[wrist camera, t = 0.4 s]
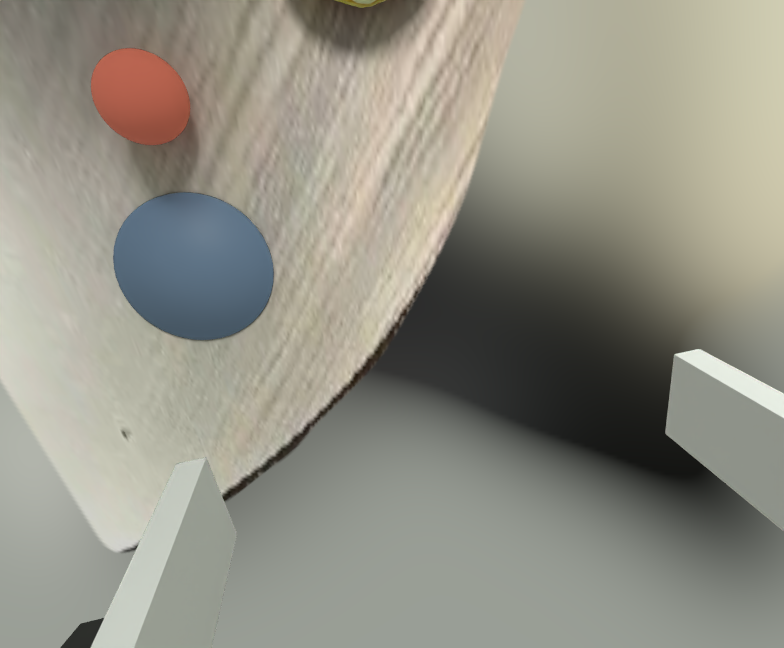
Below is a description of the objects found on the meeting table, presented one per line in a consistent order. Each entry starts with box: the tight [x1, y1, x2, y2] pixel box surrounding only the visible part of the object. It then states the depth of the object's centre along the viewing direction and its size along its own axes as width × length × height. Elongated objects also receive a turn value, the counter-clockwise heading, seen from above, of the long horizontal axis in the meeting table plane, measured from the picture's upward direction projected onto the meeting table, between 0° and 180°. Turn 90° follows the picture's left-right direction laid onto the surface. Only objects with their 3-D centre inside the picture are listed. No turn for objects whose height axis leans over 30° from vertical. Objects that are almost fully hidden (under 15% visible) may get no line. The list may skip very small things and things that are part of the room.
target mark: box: [113, 193, 274, 340], centre depth 35 cm, size 12×12×1 cm
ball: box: [91, 48, 190, 145], centre depth 28 cm, size 6×6×6 cm
